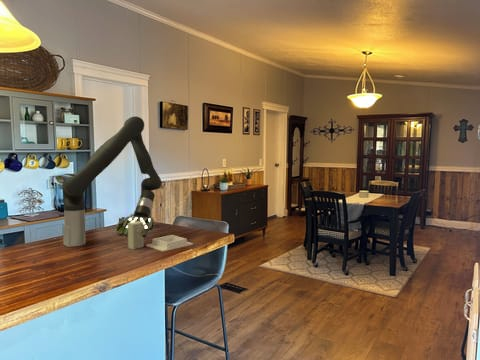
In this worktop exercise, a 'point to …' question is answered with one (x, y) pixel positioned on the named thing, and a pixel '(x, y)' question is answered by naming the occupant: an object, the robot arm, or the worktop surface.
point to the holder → (168, 243)
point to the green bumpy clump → (121, 226)
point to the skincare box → (135, 235)
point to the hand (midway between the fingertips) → (134, 236)
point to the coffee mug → (146, 223)
